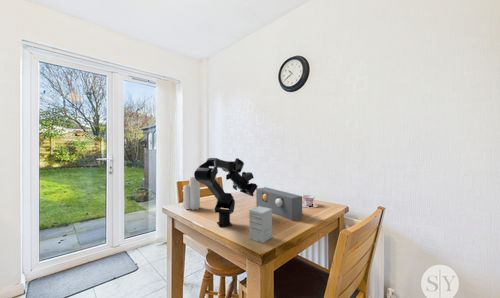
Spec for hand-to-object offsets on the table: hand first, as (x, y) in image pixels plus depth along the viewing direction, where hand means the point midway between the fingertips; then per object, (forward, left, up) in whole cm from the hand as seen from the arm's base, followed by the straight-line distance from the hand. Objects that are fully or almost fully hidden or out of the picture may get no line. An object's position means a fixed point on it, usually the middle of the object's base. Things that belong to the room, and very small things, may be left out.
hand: (252, 195), depth 127 cm
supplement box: (-33, +11, -11) cm, 36 cm away
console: (-3, -15, -10) cm, 18 cm away
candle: (+25, +33, -11) cm, 42 cm away
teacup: (0, -41, -11) cm, 42 cm away
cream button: (-11, -11, -5) cm, 17 cm away
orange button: (+3, -10, -5) cm, 11 cm away
